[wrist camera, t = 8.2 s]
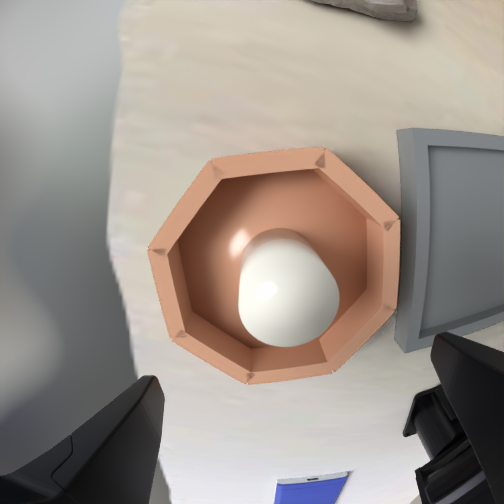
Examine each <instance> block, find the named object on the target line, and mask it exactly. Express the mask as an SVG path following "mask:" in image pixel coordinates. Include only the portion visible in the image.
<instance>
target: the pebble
mask: <svg viewBox="0 0 504 504" xmlns="http://www.w3.org/2000/svg"><path fill="white" fill-rule="evenodd" d="M238 307H239V314H240V318H241V320H242V323H243V324H244V326H245V328H246V329H247V330H248V332H249V333H250V334H251V335H253V336H254V337H255V338H257V339H258V340H260V341H262V342H263V343H266V344H269V345H272V346H278V347H293V346H298V345H302V344H305V343H307V342H310V341H312V340H314V339H315V338H317V337H318V336H320V335H321V334H322V333H323V332H324V331H325V330H326V329H327V328H328V327H329V326H330V325H331V323H332V322H333V320H334V318H335V316H336V314H337V311H338V307H339V290H338V286H337V283H336V281H335V279H334V277H333V276H332V274H331V273H330V271H329V270H328V269H327V267H326V266H325V264H324V263H323V261H322V260H321V259H320V257H319V256H318V254H317V253H316V251H315V250H314V249H313V247H312V246H311V244H310V243H309V242H308V241H307V239H306V238H304V237H303V236H302V235H301V234H299V233H297V232H295V231H293V230H290V229H285V228H274V229H269V230H266V231H263V232H261V233H259V234H258V235H256V236H255V237H254V238H252V239H251V240H250V242H249V243H248V244H247V245H246V247H245V249H244V251H243V253H242V256H241V262H240V282H239V303H238Z"/></svg>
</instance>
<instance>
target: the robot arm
mask: <svg viewBox="0 0 504 504" xmlns="http://www.w3.org/2000/svg"><path fill="white" fill-rule="evenodd" d="M431 361H432V363H433V366H434V368H435V370H436V372H437V375H438V377H439V380H440V382H441V384H442V386H440V387H437V388H435V389H432V390H429V391H426V392H423V393H420V394H418V395H416V396H415V397H414V399H413V403H412V406H411V409H410V413H409V416H408V419H407V422H406V425H405V428H404V431H403V436H404V437H408V436H411V435H414V434H418V436H419V438H420V440H421V442H422V444H423V446H424V448H425V450H426V452H427V454H428V456H429V458H430V460H431V461H430V462H428V463H427V464H425V465H424V466H422V467H421V468H420V467H419V468H418V469H416V470H415V474H416V481H417V485H418V489H419V493H420V497H421V501H422V504H504V352H502V351H499V350H496V349H493V348H491V347H488V346H485V345H482V344H480V343H477V342H474V341H471V340H469V339H466V338H463V337H460V336H458V335H455V334H452V333H449V332H446V331H445V332H441V333H438V334H436V335H435V337H434V341H433V346H432V350H431ZM164 402H165V398H164V393H163V391H162V388H161V386H160V383H159V381H158V379H157V377H156V376H154V375H145V376H142V377H141V378H140V379H138V380H137V381H136V382H135V383H134V384H132V385H131V386H130V387H129V388H128V389H126V390H125V391H124V392H123V393H121V394H120V395H119V396H118V397H116V398H115V399H114V400H113V401H111V402H110V403H109V404H108V405H107V406H105V407H104V408H103V409H102V410H100V411H99V412H98V413H97V414H95V415H94V416H93V417H92V418H90V419H89V420H88V421H87V422H85V423H84V424H83V425H81V426H80V427H79V428H78V429H76V430H75V431H74V432H73V433H72V434H71V435H69V436H67V437H66V438H65V439H64V440H62V441H61V442H60V443H58V444H57V445H56V446H54V447H53V448H52V449H50V450H49V451H47V452H45V453H44V454H42V455H41V456H39V457H38V458H36V459H34V460H33V461H31V462H29V463H28V464H26V465H24V466H23V467H21V468H19V469H18V470H16V471H14V472H12V473H10V474H7V475H3V476H0V504H149V499H150V494H151V488H152V483H153V478H154V472H155V468H156V463H157V458H158V453H159V448H160V443H161V435H162V424H163V413H164Z"/></svg>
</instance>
